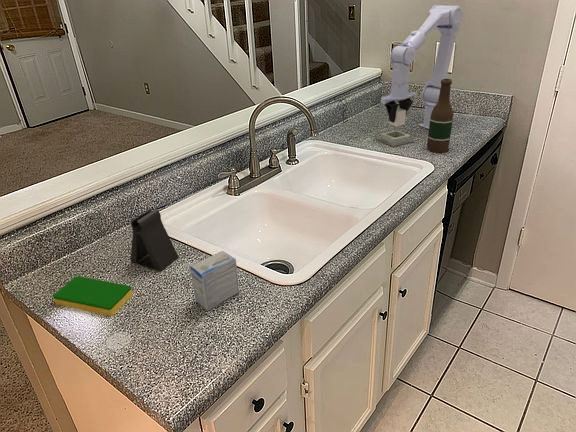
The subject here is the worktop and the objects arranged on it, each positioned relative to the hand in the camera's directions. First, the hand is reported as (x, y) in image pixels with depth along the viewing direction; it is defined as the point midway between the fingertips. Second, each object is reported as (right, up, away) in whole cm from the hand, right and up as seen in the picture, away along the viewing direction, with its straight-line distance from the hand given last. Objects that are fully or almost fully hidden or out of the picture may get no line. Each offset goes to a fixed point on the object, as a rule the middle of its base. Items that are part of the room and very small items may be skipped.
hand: (396, 120), depth 163 cm
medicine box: (-54, -51, -73) cm, 104 cm away
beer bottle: (+13, -11, -5) cm, 18 cm away
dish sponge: (-79, -52, -71) cm, 118 cm away
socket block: (0, -7, +4) cm, 8 cm away
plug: (0, -2, +1) cm, 2 cm away
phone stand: (-70, -45, -60) cm, 103 cm away
